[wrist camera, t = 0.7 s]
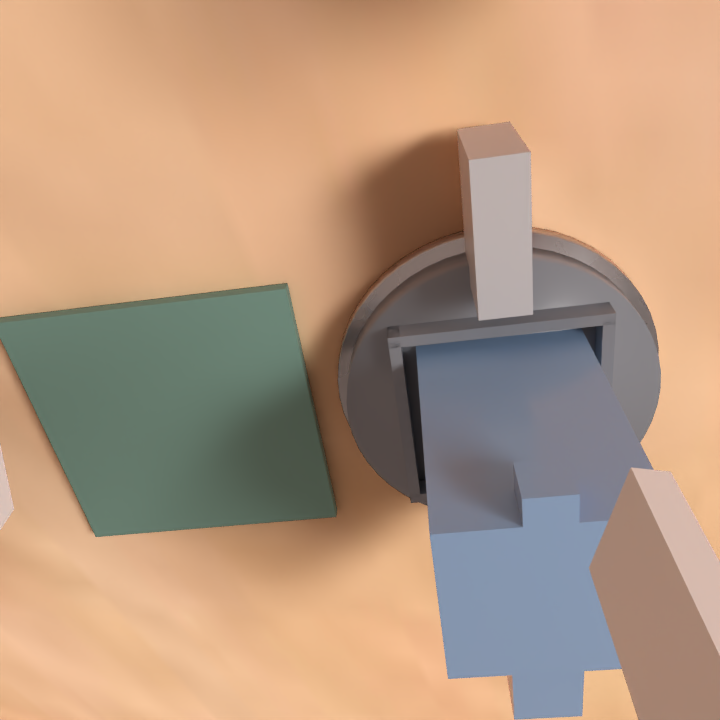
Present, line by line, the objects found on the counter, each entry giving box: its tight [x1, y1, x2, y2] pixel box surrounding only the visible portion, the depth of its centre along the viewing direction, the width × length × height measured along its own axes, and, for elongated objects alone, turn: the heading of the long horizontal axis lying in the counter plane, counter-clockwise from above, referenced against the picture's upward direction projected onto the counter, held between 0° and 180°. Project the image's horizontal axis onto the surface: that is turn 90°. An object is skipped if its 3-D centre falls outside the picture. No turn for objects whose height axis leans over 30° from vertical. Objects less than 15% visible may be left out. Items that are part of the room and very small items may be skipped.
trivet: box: [0, 283, 337, 537], centre depth 35 cm, size 14×14×1 cm
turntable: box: [346, 122, 661, 506], centre depth 29 cm, size 14×19×4 cm
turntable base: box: [338, 227, 658, 428], centre depth 33 cm, size 15×15×1 cm
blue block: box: [416, 328, 653, 719], centre depth 27 cm, size 7×12×11 cm, turn 8°
